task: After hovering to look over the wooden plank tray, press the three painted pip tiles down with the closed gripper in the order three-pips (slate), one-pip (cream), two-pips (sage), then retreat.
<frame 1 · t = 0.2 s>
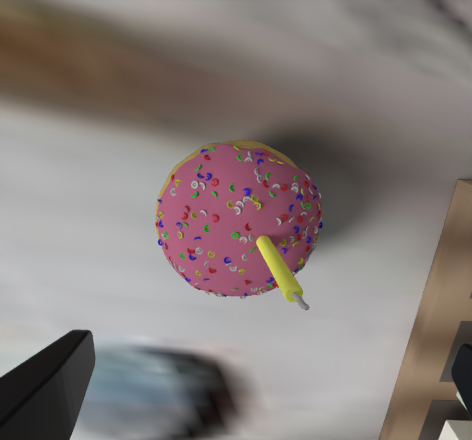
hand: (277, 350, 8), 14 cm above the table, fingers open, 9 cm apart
cupcake: (236, 196, 22), on the table
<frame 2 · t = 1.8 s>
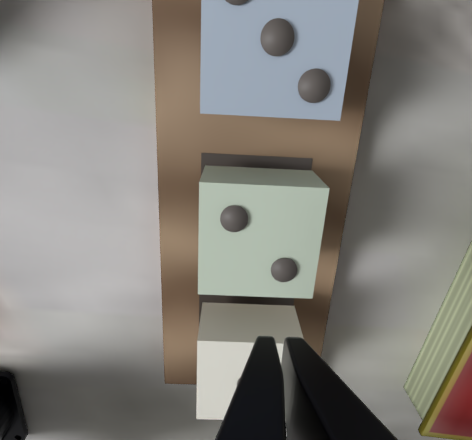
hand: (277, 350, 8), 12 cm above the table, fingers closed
tile three: (272, 43, 13), point 5 cm above the table, slide at 0.0 cm
tile one: (246, 361, 18), point 5 cm above the table, slide at 0.0 cm
tile two: (257, 230, 15), point 5 cm above the table, slide at 0.0 cm
wooden plank tray: (251, 199, 19), on the table
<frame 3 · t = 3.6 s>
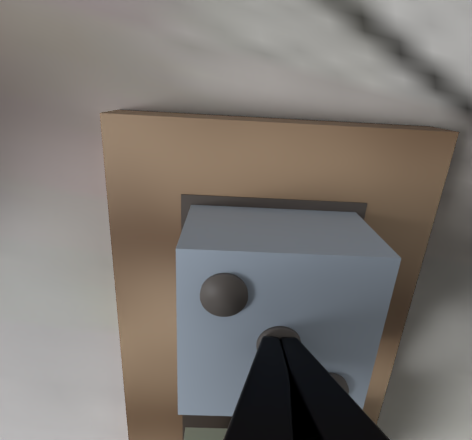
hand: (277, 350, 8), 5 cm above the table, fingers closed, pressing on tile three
tile three: (272, 308, 10), point 3 cm above the table, slide at 1.5 cm, touching gripper, wooden plank tray
wooden plank tray: (249, 406, 15), on the table
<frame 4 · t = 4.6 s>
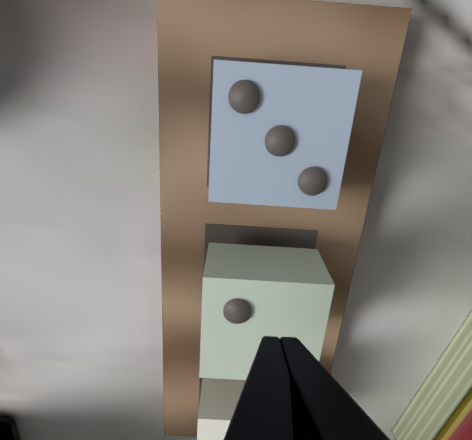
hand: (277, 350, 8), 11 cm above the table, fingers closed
tile three: (275, 135, 14), point 3 cm above the table, slide at 1.5 cm, touching wooden plank tray
tile one: (247, 429, 18), point 5 cm above the table, slide at 0.0 cm
tile two: (260, 312, 15), point 5 cm above the table, slide at 0.0 cm
wooden plank tray: (255, 261, 19), on the table
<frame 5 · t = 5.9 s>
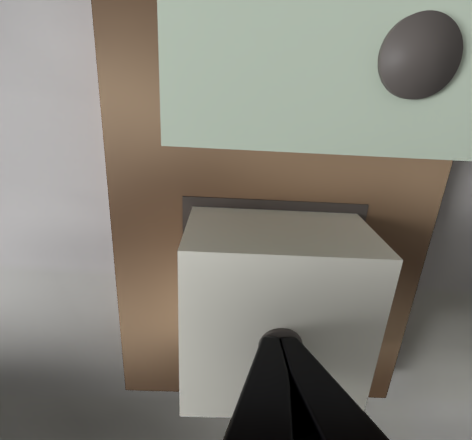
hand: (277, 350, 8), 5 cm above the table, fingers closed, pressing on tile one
tile one: (273, 310, 10), point 3 cm above the table, slide at 1.5 cm, touching gripper, wooden plank tray
wooden plank tray: (285, 30, 10), on the table
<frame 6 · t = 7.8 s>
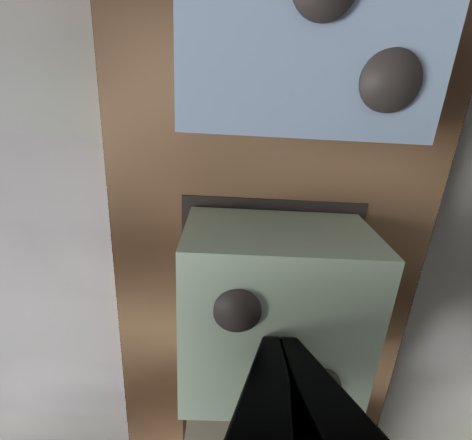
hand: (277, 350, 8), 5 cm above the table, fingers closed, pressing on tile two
tile three: (306, 5, 7), point 3 cm above the table, slide at 1.5 cm, touching wooden plank tray
tile two: (273, 312, 10), point 3 cm above the table, slide at 1.3 cm, touching gripper
wooden plank tray: (263, 258, 13), on the table
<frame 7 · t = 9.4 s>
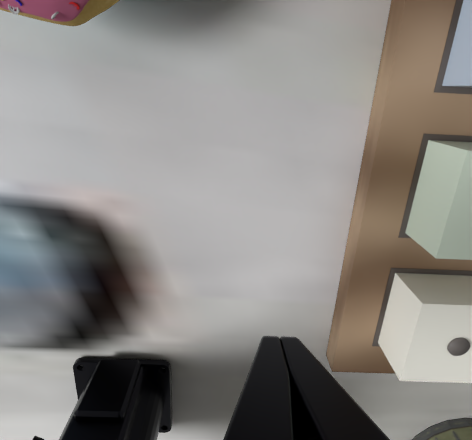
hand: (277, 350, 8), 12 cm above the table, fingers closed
tile one: (442, 327, 19), point 3 cm above the table, slide at 1.5 cm, touching wooden plank tray
wooden plank tray: (445, 183, 19), on the table
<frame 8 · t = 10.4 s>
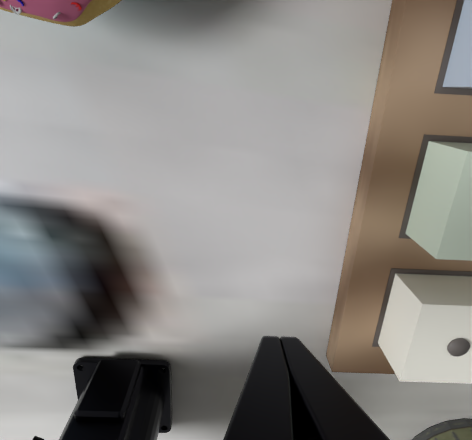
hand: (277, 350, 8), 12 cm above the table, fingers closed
tile one: (441, 328, 19), point 3 cm above the table, slide at 1.5 cm, touching wooden plank tray
wooden plank tray: (446, 184, 19), on the table
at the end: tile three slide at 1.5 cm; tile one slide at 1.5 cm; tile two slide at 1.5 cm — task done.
